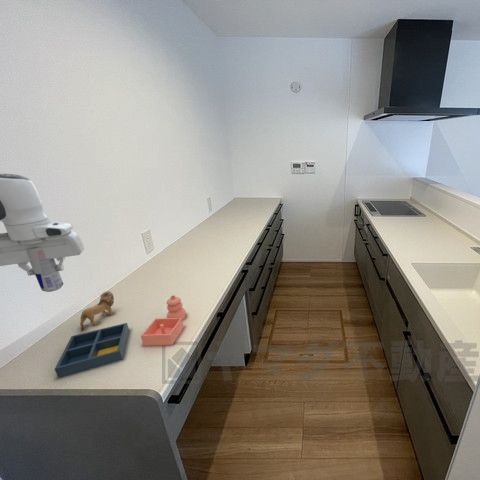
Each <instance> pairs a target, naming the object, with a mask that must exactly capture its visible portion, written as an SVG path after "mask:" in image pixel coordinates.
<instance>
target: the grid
mask: <svg viewBox="0 0 480 480" xmlns="http://www.w3.org/2000/svg"><path fill="white" fill-rule="evenodd" d="M129 333H130V328H129V325H128V323H127V322H124V323H120V324H115V325H112V326H107V327H104V328H103V327H102V328H99V329H95V330H91V331H87V332H83V333H78V334H74V335H71V336H70V338H69V340H68V342H67V344H66V346H65V347H64V350H63V352H62V354H61V355H60V358H59V359H58V360H57V364H56V365H55V367H54V371H55V374H56V376H57V378H58V379H60V378H64V377H68V376H71V375H75V374H78V373H82V372H84V371H88V370H91V369H96V368H99V367H101V366H106V365H109V364H113V363H117V362H119V361H123V359H124V356H125V351H126V346H127V342H128V337H129Z"/></svg>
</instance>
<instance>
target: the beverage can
mask: <svg viewBox="0 0 480 480" xmlns="http://www.w3.org/2000/svg"><path fill="white" fill-rule="evenodd" d="M41 248H43V247H41ZM41 248H40V247H37V248H30V249H25V250H27V254H28V256H29V258H30V262H29V264H30V267H31V268H33V271H34V273H35V275H34V276H35V278H36V280H37V283H38V286H39V288H40V290H41V291H42V292H45V293H51V292H55V291H56V292H57V291H58V290H60V289H62V287H63V286H64V282H63V281H64V280H63V279H62V277H61V273H60V271H56V269H55V266H56V265H57V263H56V260H55V259H47V258H46V257H45V254H44V251H43V249H41Z"/></svg>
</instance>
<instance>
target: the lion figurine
mask: <svg viewBox="0 0 480 480" xmlns="http://www.w3.org/2000/svg"><path fill="white" fill-rule="evenodd" d="M114 302H115V297H114V294H113V293H112V292H111V291H110V290H105V291H103V292H102V293H101V294H100V299H99V302H98V303H97V304H95V305H92V306H91V307H87V308H84V310H82V312H81V314H80V322H79V324H80V328H81V330H80V331H81V332H82V331H84V329H85V328H86V327H87V326H86V324H84V323H85V321H86V320H87V319H88V320H89V321H90V324H92V325H95V326H98V325H99V324H100V322H99V321H95V316H96V315H99V314H101V313H102V316H106V315H107V314H108V315H109V316H113V315H114V312H112V306H113V305H114ZM106 311H107V312H106Z"/></svg>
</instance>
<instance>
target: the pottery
mask: <svg viewBox="0 0 480 480" xmlns="http://www.w3.org/2000/svg"><path fill="white" fill-rule="evenodd" d="M166 309H167V313H166V318H165V317H163V318H161V317H160V318H154V319H153V320H152V321H151V322H150V324H149V325H148V326H147V328H146V329H145V330H144V331H143V333H141V335H140V338H141V341H142V345H143V346H173V344H174V343H175V341H176V340H177V339H178V337H179V335H180V334H181V332H182V331H183V329H184V328H185V327H184V320H185V319H186V315H187V311H186V309H185V308H184V307H183V302H182V298H181V297H180V296H176V295H174V294H173V295H171V296H170V297H169V298H168V299H167V300H166Z"/></svg>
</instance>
